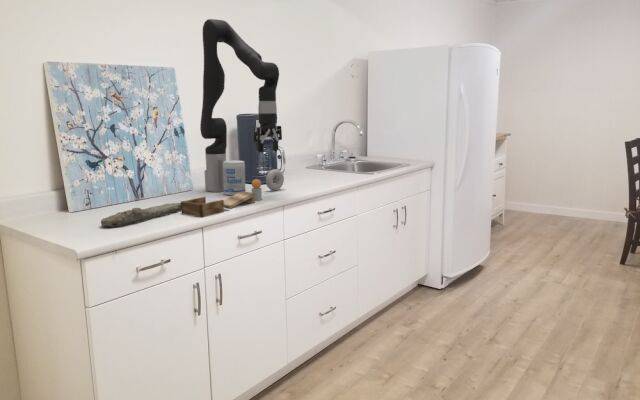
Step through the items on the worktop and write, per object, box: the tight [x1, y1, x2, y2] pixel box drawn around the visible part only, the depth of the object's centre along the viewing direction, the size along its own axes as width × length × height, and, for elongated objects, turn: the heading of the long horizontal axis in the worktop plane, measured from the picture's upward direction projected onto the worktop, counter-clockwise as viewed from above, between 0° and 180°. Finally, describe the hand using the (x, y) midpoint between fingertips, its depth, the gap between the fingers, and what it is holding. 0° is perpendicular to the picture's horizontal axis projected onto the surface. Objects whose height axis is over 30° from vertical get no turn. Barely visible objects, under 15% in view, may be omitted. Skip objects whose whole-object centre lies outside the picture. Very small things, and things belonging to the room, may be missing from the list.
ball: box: [251, 178, 262, 189], centre depth 214 cm, size 4×4×4 cm
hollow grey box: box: [251, 187, 263, 202], centre depth 215 cm, size 3×3×5 cm
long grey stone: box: [100, 202, 182, 228], centre depth 184 cm, size 35×5×10 cm
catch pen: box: [180, 196, 225, 218], centre depth 192 cm, size 11×11×4 cm
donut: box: [265, 168, 285, 191], centre depth 236 cm, size 10×4×10 cm, turn 136°
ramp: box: [223, 191, 256, 209], centre depth 206 cm, size 14×7×4 cm, turn 144°
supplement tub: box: [223, 159, 246, 197], centre depth 227 cm, size 10×10×15 cm
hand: (268, 151), depth 215 cm, fingers open, 8 cm apart
